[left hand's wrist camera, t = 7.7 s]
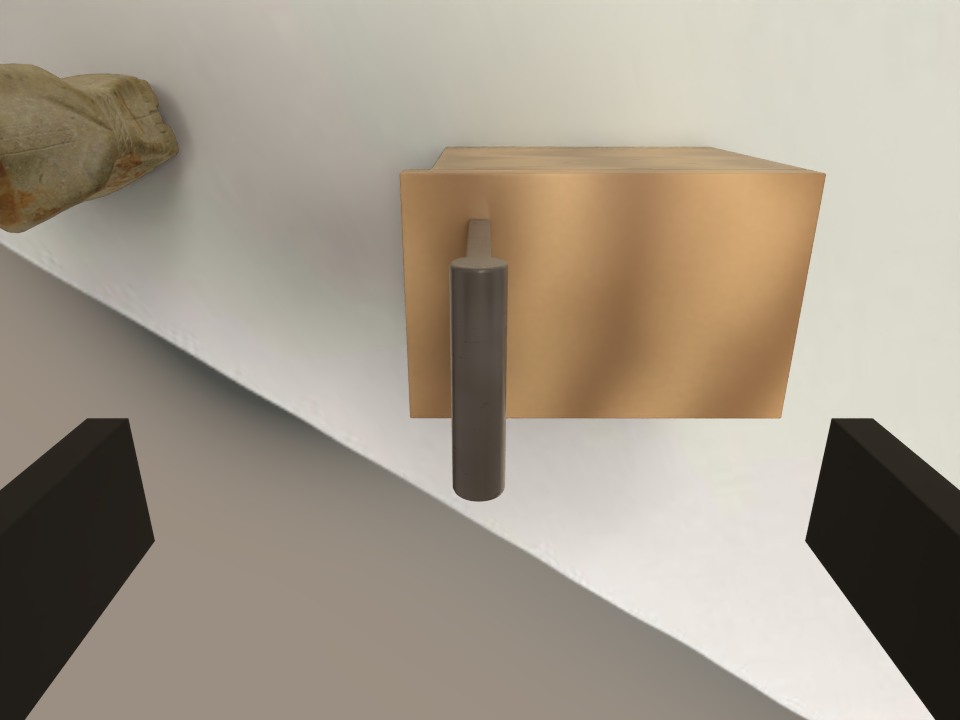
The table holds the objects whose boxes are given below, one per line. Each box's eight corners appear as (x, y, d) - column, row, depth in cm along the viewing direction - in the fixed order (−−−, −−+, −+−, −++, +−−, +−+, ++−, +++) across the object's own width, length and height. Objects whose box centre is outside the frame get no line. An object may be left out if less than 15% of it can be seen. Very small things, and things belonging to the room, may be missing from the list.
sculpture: (20, 94, 32) (-339, 96, 18) (159, 50, 31) (-102, 15, 17) (79, 214, 34) (-203, 299, 20) (210, 175, 33) (15, 235, 19)
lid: (413, 404, 26) (382, 544, 18) (403, 169, 23) (361, 210, 15) (768, 405, 26) (897, 544, 18) (810, 169, 23) (990, 211, 15)
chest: (448, 320, 36) (436, 404, 26) (445, 146, 33) (430, 169, 23) (690, 320, 36) (767, 404, 26) (711, 147, 33) (809, 169, 23)
